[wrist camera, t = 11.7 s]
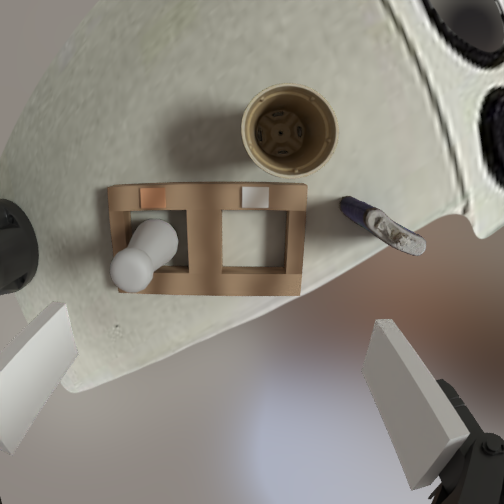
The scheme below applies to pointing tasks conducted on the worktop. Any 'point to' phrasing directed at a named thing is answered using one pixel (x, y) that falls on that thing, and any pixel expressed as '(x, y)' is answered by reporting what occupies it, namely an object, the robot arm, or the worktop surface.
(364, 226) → the flask
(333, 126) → the flower pot
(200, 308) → the worktop surface
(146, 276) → the salt shaker
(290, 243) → the socket board
